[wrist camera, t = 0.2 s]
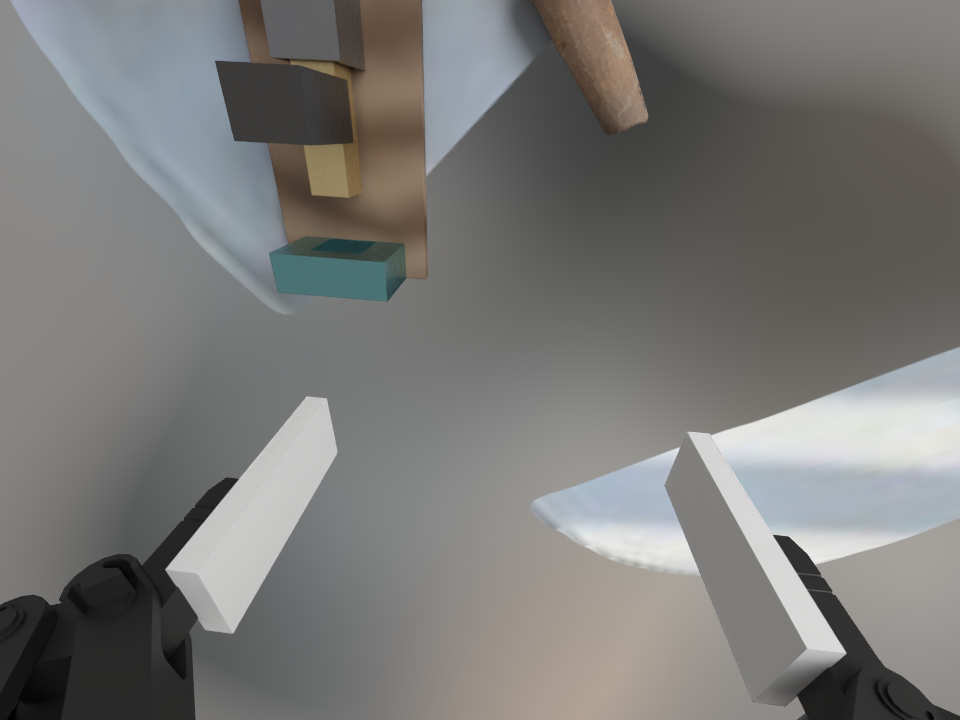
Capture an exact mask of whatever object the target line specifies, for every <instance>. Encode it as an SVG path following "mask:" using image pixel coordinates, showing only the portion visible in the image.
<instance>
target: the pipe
mask: <svg viewBox="0 0 960 720" xmlns="http://www.w3.org/2000/svg"><path fill="white" fill-rule="evenodd" d="M531 2H532V3H533V5H534V6H535V8H536V9H537V11H538V12H539V14H540V16H541V17H542V20H543V22H544V24H545V26H546V28H547V30H548V32H549V34H550V36H551V38H552V40H553V42H554V43H555V45H556V48H557V50H558V52H559V53H560V55H561V57H562V58H563V60H564V62H565V63H566V65H567V66H568V68H569V70H570V72H571V73H572V75H573V77H574V78H575V80H576V82H577V83H578V85H579V87H580V88H581V90H582V92H583V94H584V96H585V98H586V100H587V102H588V103H589V105H590V107H591V109H592V111H593V112H594V114H595V116H596V118H597V120H598V121H599V123H600V125H601V127H602V128H603V130H604V132H605V133H606V134H607V135H610V134H616V133H619V132H623V131H626V130H628V129H629V128H630V127H632V126H634V125H637V124H644V123H646V122H647V120H648V113H647V110H646V106H645V103H644V99H643V96H642V93H641V89H640V86H639V82H638V78H637V75H636V72H635V69H634V66H633V63H632V59H631V56H630V53H629V50H628V47H627V45H626V42H625V39H624V36H623V33H622V30H621V27H620V24H619V22H618V19H617V16H616V14H615V11H614V8H613V5H612V2H611V0H531Z"/></svg>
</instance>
